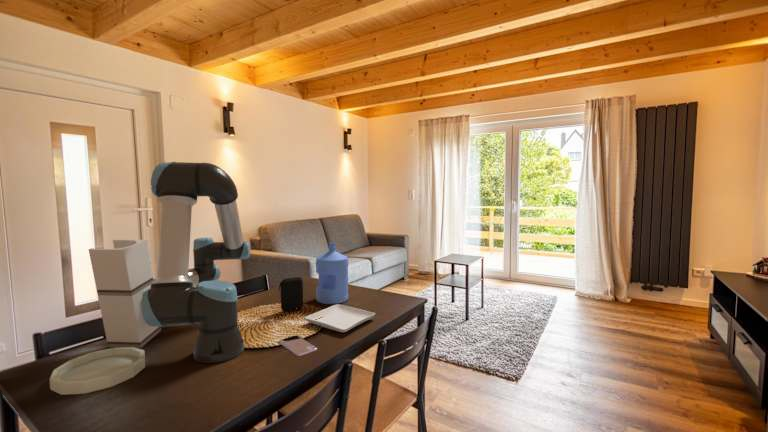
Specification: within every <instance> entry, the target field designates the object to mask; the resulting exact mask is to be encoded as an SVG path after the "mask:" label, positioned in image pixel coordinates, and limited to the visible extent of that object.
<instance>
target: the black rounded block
mask: <svg viewBox="0 0 768 432" xmlns="http://www.w3.org/2000/svg"><path fill="white" fill-rule="evenodd" d="M278 291H280V308H281V310H282V311H283V312H292V311H293V312H294V311H298V310H302V308H303V307H304V282H303V278H302V277H299V276H298V277H287V278H283V279H282V280H281V281H280V283H279V284H278ZM301 307H302V308H301ZM296 308H297V309H296Z"/></svg>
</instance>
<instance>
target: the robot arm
mask: <svg viewBox="0 0 768 432" xmlns="http://www.w3.org/2000/svg"><path fill="white" fill-rule="evenodd" d="M150 186H151V187H150V189H151V193H152V194H153V196H155V197H156V198H157V201H158V202H159V204H161V207H162V208H161V220H160V231H159V232H160V233H159V246H158V258H157V259H158V261H157V272H156V273H157V275H156V278H153V282H152V283H151V289H148V290H146V291H143V292H142V299H141V310H142V315H143V318H144V320H145V322H146V323H147V324H148V325H149V326H152V327H161V328H166V327H175V326H176V327H177V326H186V325H187V326H188V325H198V334H197V338H196V341H195V345H194V347H193V353H192V354H193V355H192V356H193V359H194V360H195V361H196V362H198V363H201V364H214V363H215V364H217V363H221V362H225V361H228V360H232V359H234V358H237V357H238V356H239V355H241V354H242V353H243V352H244V350H245V341H244V339H243V336H242V334H241V331H240V329H239V323H238V321H239V320H238V300H239V297H238V293H237V287H236V285H235V284H234V283H231V282H229V281H225V280H219V278H220V277H221V273H222V272H221V269H220V266H219V265H217V264H215V261H224V260H225V261H226V260H231V261H232V260H233V261H234V260H239V261H240V260H247V259H248V258H250V257H251V243H250V242H249V241H245V240H244V237H243V231H242V226H241V220H240V216H239V210H238V205H237V199H238V197H239V193H238V189H237V186H236V184H235V182H234V180H233V179H232V178H231V176H230V175H229V174H228V173H227V172H226V171H225V170H224V169H222V168H221V167H219V166H218V165H216V164H213V163H211V162H178V161H170V162H168V161H167V162H160V163H159V164H157V165H156V166H155V167H154V169H153V171H152V174H151V178H150ZM199 197H208V198H209V200H210V202H211V203H212V204H213V205H214V208H215V213H216V216H217V220H218V225H219V229H220V232H221V237H222V240H223V241H222V242H221V241H217V242H216V241H214V239H213V238H212V237H198V238H195V239H194V240H193V249H192V251H193V268H189V262H190V248H191V247H190V246H191V245H190V244H191V229H192V227H191V226H192V223H191V222H192V208H193V206H195V205H196V204H197V203H198V198H199Z"/></svg>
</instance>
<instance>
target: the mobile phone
mask: <svg viewBox="0 0 768 432" xmlns="http://www.w3.org/2000/svg"><path fill="white" fill-rule="evenodd" d="M278 344H280V345H281V346H283V347H284V348H286V349H287V350H288V351H290V352H291V353H293V354H294V355H295V356H298V357H301V356H304V355H307V354H310V353H314V352H316V351H317V350H318V347H316V346H315V345H313V343H310V342H308V341H307V340H306V339H303V337H301V336H299V335H292V336H288V337H285V338H283V339H279V340H278Z"/></svg>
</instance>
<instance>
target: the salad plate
mask: <svg viewBox="0 0 768 432" xmlns="http://www.w3.org/2000/svg"><path fill="white" fill-rule="evenodd" d="M375 315H376V312H372V311H369V310H365V309H361V308H357V307H352V306H349V305H345V304H341V303H339V304H332V305H331V306H329V307H327V308H324V309H322V310H318V311H316V312H314V313H311V314H309V315H306V316H304V320H305V321H306V322H308V323H311V324H313V323H314V324H313V325H315V326H316V325H317V324H318V325H317V326H318V327H321V328H324V329H328V330H332V331H334V332H335V331H336V332H339V333H346V332H348V331H350V330H351V329H354V328H355V327H357V326H359V325H361V324H363V323H365V322H366V321H369V320H371V319H372V318H373V317H375ZM323 316H324V317H323ZM320 317H322V318H320ZM318 318H320V319H318ZM315 319H318V320H316V321H315ZM320 325H322V326H320Z"/></svg>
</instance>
